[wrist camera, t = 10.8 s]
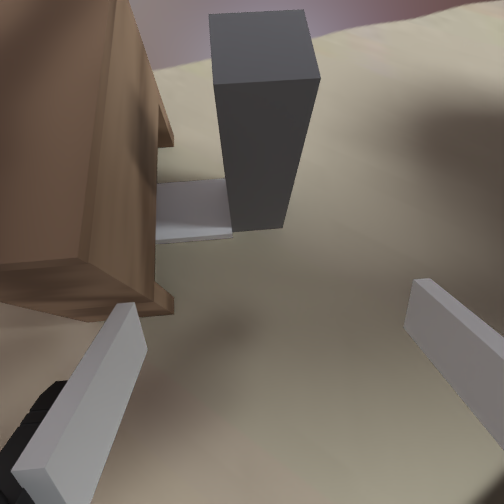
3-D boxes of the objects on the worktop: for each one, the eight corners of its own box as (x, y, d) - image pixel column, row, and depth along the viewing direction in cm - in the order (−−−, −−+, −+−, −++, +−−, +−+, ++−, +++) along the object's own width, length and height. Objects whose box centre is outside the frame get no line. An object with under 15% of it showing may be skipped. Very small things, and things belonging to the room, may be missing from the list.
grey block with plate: (275, 180, 24) (301, 2, 12) (283, 233, 23) (323, 87, 10) (83, 194, 24) (-91, 20, 12) (76, 251, 22) (-138, 116, 10)
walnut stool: (176, 133, 26) (115, -54, 14) (176, 316, 20) (77, 257, 8) (104, 138, 26) (-19, -49, 14) (84, 325, 20) (-151, 277, 8)
